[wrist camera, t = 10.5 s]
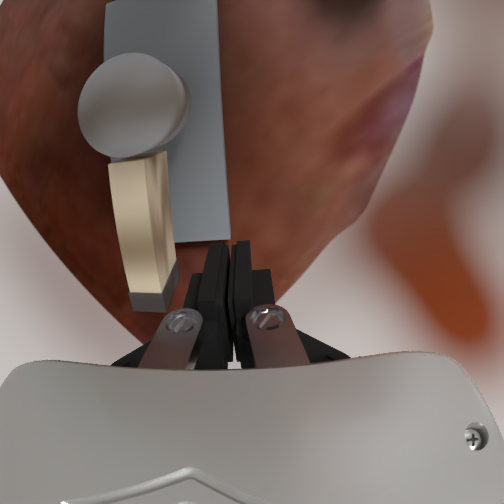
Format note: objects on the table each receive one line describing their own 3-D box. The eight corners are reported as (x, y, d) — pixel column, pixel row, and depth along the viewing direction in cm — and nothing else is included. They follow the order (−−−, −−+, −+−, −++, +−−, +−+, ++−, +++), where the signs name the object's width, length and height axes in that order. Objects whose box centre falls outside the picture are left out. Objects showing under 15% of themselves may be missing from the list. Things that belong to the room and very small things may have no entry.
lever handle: (112, 74, 16) (77, 66, 12) (192, 61, 16) (176, 44, 12) (132, 274, 24) (111, 309, 19) (201, 275, 24) (192, 313, 19)
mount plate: (112, 8, 16) (92, -6, 12) (216, -14, 16) (212, -36, 12) (131, 239, 26) (115, 259, 23) (231, 232, 26) (228, 253, 23)
